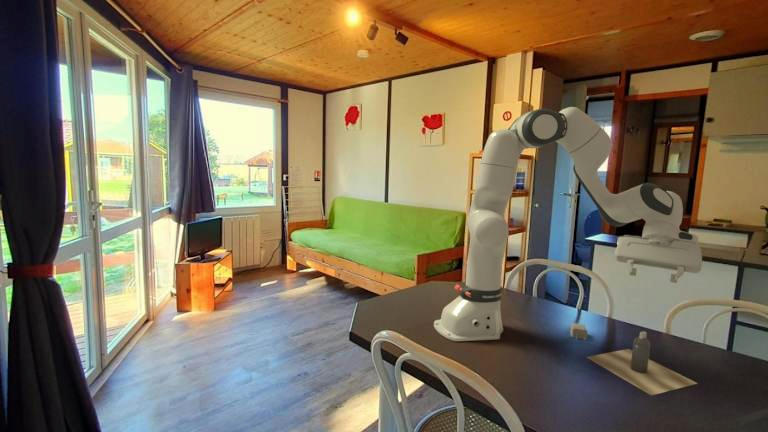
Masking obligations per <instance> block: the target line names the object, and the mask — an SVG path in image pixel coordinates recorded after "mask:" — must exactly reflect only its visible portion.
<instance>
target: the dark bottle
mask: <svg viewBox="0 0 768 432" xmlns="http://www.w3.org/2000/svg"><path fill="white" fill-rule="evenodd" d="M631 350H632V359H631V367H630V368H631V369H632V370H634V371H636V372H639V373H647V369H648V361H649V359H650V351H651V342H650V341H649V340H648V338H647V332H646V331H640V332H639V336H637V337H636V338H634V339H633V343H632V349H631Z"/></svg>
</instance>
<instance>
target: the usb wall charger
mask: <svg viewBox="0 0 768 432" xmlns="http://www.w3.org/2000/svg"><path fill="white" fill-rule="evenodd" d="M569 331H570V332H569V333H570V336H571V338H572V339H573V338H574V339H576V340H578V339H580V340H584V341H586V340H587V339H588V330H587V328H586V326H585V324H583V323H577V322H576V323H575V322H572V323H571V324H570V330H569Z"/></svg>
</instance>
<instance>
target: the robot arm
mask: <svg viewBox="0 0 768 432" xmlns="http://www.w3.org/2000/svg"><path fill="white" fill-rule="evenodd" d="M555 142H556V143H557V144H559V145H561V146H562V148H563V149H564V150H565V151H566V152H567V153H568V154H569V155H570V157H571V158H572V160H573V163H574V164H573V166H572V169H573V173H574V175H575V176H576V178H577V180H578V182H579V183H580V185H581V186H582V188H583V190H585V192H586V194H587V195H588V196H589V198H590V200H591V201H592V202H593V203H594V205H595V206H596V208H597V210H598V213H599V215H600V217H601V219H602V220H603V221H604V222H606V223H607V224H609V225H611V226H613V227H617V228H619V227H623V226H626V225H627V224H630V223H632V222H635V221H638V220H641V219H642V220H644V221H645V224H644V225H643V229H642V234H641V236H640V235H630V234H624V235H620V236H618V237H617V241H616V245H617V246H616V248H615V251H614V258H615V260H616V262H619V263H624V264H625V263H626V264H627V267H628V270H629V273H628V274H629V276H632V277H633V276H634V277H636V275H637V268H636V267H633V266H634V265H638V266H646V267H650V268H651V267H652V268H659V269H663V270H664V269H665V270H672V271H676V273H675V274H674V273H671V274H670V283H674V284H677V283H678V279H679V278H681V277H682V276H683V275H684V273H691V274H698V273H700V272H701V271H702V267H703V266H702V264H703V255H702V249H701V247H700V246H699V237H698V236H697V235H696V234H693V233H690V232H686V231H683V230H681V229H680V226H681V224H682V222H683V221H682V220H683V213H684V208H683V207H684V206H683V202H682V198H681V197H680V195H678V193H676V192H674V191H669V190H666V189H664V188H662V187H661V186H659V185H656V184H655V183H650V182H645V183H641V184H640V185H637V186H634V187H631V188H629V189H628V190H625V191H622V192H619V193H611V192H610V190H609V189H608V188H607V186H606V185H605V184H604V182H603V181H602V180H601V178H600V177H599V176H600V175H599V174H598V170H599V169H600V168H601V166H602V165H604V163H605V162H606V160H607V159H608V157H609V156H610V154H611V151H612V146H613V145H612V143H613V142H612V138H611V137H610V135H609V134H608V133H607V132H606V130H604V128H603V127H602V126H600V124H598V122H596V120H594V119H593V118H592V117H591V116H590V115H588V114H587V113H586V112H584V111H583V110H581V109H580V108H578V107H576V106H569V107H568V106H567V107H566V108H563V109H561V110H560V111H554V110H551V109H548V108H538V109H535V110H530V111H528V112H525V113H523V114H522V115H520V116H519V117H518V118H516V119H515V120H514V121H513V123H512V124H511V125H510V126H509V127H508V129H506V128H505V129H504V128H503V129H502V128H501V129H497V130H494V131H493V132H491V133H490V134H489V136H488V138H487V139H486V143H485V145H484V148H483V151H482V156H481V161H480V166H479V169H478V176H477V180H476V185H475V188H474V189H475V190H474V192H473V197H472V201H471V205H470V208H469V212H468V216H467V219H466V227H467V231H468V232H469V245H468V252H467V259H466V269H465V270H466V272H465V283H464V284H463V286H461V285H460V284H456V285H455V286H454V290H455V291H456V292H458V293H459V295H458V296H457V297H456V298H455V299H454V300H452V301H451V302H450V303H447V305H445V306H444V308H443V310H442V312H441V317H440V319H436V320H434V322H433V327H434V329H435V330H436V331H437V333H438V334H440V335H441V336H443V337H444V338H446V339H448V340H449V341H453V342H471V341H473V342H474V341H491V340H492V341H493V340H500V339H501V334H502V333H503V332H504V327H503V323H502V322H503V321H502V315H501V300H502V295H503V291H502V290H503V288H502V287H503V286H501V285H502V274H503V273H502V272H503V262H504V257H505V252H506V247H507V244H508V243H507V242H508V238H509V235H510V234H509V233H510V231H509V230H510V229H509V224H508V222H507V220H506V219H505V218H504V215H505V212H506V209H507V206H508V204H509V200H510V199H511V197H512V194H513V191H514V185H515V180H516V177H517V176H516V175H517V171H518V165H519V161H520V160H519V159H520V157H521V155H522V153H523V151H525V150H527V149H538V148H542V147H543V148H544V147H546V146H550V145H551V144H553V143H555Z"/></svg>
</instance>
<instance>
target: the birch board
mask: <svg viewBox="0 0 768 432" xmlns="http://www.w3.org/2000/svg"><path fill="white" fill-rule="evenodd" d="M632 350H633V349H630V348H626V349H621V350H616V351H611V352H605V353H600V354H596V355H590V356H586V358H587V359H588V360H590V361H592V362H594V363H596V364H597V365H599V366H600V367H602V368H604V369H605V370H607V371H609V372H610V373H612V374H614V375H616V376H617V377H619V378H620V379H622V380H623V381H626V382H628V383H629V384H630V385H632V386H634V387H637V389H639V390H641V391H643V392H644V393H647V394H648V395H650V396H655V395H659V394H663V393H666V392H670V391H674V390H678V389H683V388H686V387H690V386H693V385H698V384H699V383H698V382H695V381H694V380H692V379H690V378H688V377H686V376H683V374H680V373H678V372H676V371H674V370H672V369H670V368H668V367H665V366H664V365H662V364H660V363H658V362H656V361H655V360H651V359H650V358H649V361H648V369H647V373H639V372H636V371H634V370H632V369H631V368H630V367H631V359H632Z"/></svg>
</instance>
